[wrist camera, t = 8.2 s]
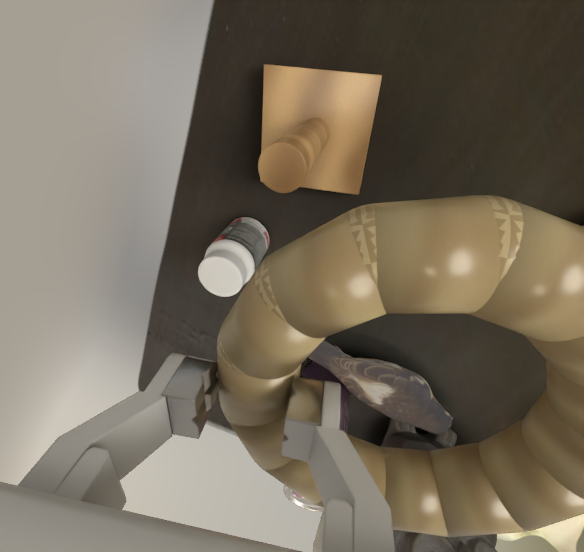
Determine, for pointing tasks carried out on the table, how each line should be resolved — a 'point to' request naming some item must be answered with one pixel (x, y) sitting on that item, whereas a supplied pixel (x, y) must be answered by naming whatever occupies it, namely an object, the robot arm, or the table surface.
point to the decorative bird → (386, 388)
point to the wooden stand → (316, 128)
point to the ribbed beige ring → (414, 300)
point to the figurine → (424, 547)
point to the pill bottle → (233, 257)
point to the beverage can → (324, 374)
